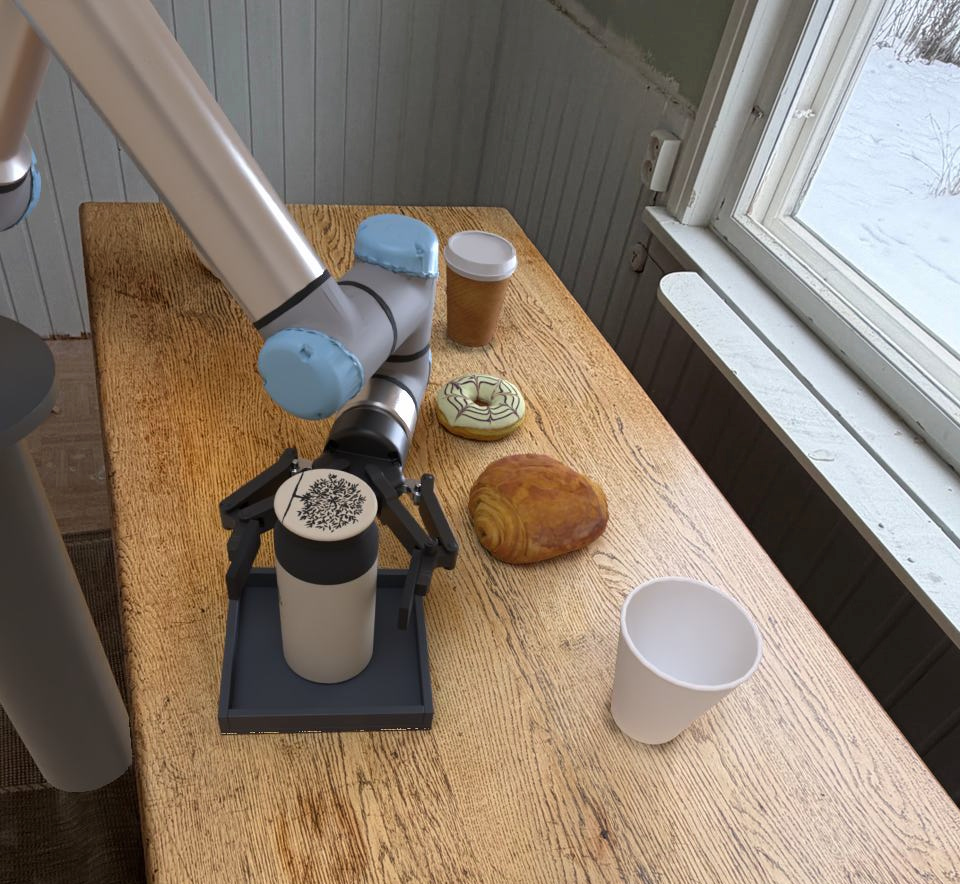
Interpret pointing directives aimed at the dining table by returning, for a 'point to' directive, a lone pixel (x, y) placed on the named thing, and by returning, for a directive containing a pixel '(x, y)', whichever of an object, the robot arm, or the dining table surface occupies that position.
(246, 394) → the dining table surface
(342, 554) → the travel mug
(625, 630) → the cup
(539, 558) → the croissant
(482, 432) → the decorated donut
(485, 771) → the dining table surface
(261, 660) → the serving tray
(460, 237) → the disposable coffee cup
